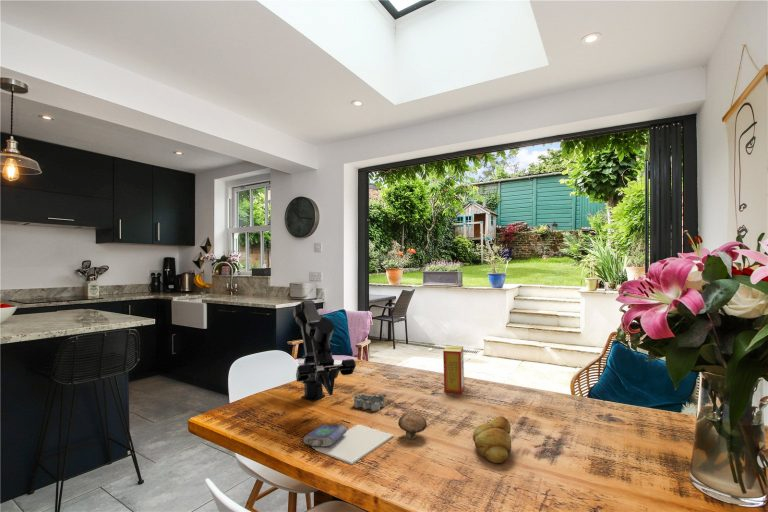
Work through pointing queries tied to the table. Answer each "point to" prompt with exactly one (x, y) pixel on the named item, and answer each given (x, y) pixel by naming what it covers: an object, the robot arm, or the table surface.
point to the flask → (324, 435)
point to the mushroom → (412, 424)
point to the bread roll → (493, 439)
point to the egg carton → (370, 401)
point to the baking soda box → (453, 369)
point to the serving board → (355, 444)
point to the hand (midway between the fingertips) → (331, 394)
